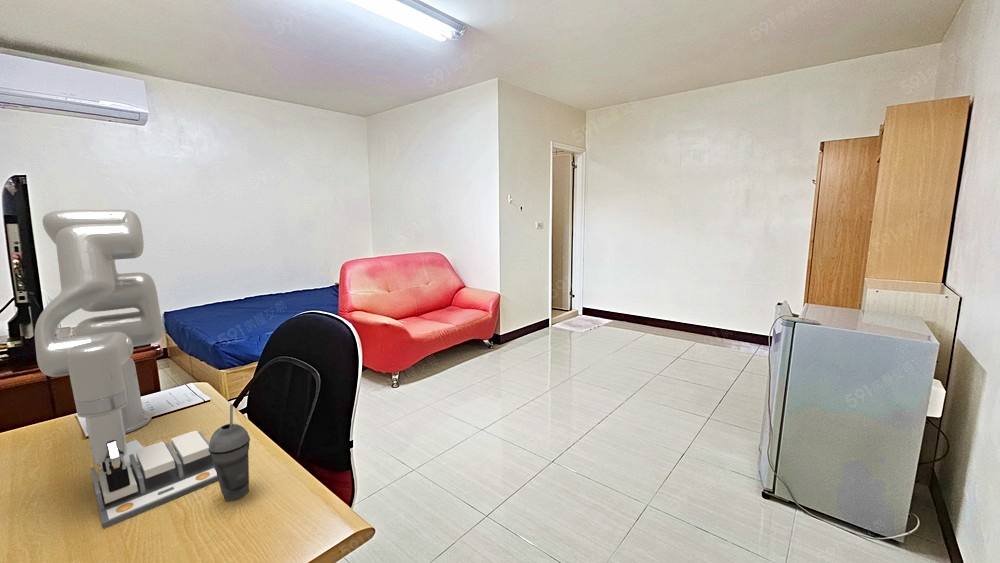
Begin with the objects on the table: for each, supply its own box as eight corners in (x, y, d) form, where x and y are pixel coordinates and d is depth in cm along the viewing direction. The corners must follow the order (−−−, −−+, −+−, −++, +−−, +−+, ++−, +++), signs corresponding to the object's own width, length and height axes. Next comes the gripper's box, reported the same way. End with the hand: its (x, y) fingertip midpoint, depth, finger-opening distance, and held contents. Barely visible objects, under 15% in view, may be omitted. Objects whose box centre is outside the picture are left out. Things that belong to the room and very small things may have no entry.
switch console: (93, 487, 91) (89, 467, 90) (202, 448, 105) (200, 430, 105) (103, 528, 79) (98, 506, 78) (224, 477, 93) (222, 458, 93)
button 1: (99, 483, 90) (97, 472, 90) (130, 472, 94) (128, 461, 94) (105, 507, 83) (103, 495, 82) (138, 494, 87) (136, 483, 86)
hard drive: (93, 454, 101) (107, 472, 94) (137, 439, 108) (152, 455, 101) (95, 460, 102) (108, 479, 94) (138, 444, 108) (153, 461, 101)
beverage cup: (219, 488, 90) (207, 401, 87) (258, 479, 93) (248, 395, 89) (212, 510, 83) (198, 417, 80) (253, 499, 86) (242, 409, 83)
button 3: (172, 448, 100) (171, 438, 99) (197, 439, 103) (196, 430, 103) (184, 467, 92) (182, 457, 92) (210, 457, 96) (209, 447, 95)
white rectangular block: (137, 460, 95) (135, 450, 94) (164, 451, 98) (163, 441, 98) (146, 482, 87) (144, 470, 87) (175, 471, 91) (174, 460, 90)
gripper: (73, 396, 88) (88, 470, 91) (79, 423, 77) (96, 506, 79) (120, 385, 93) (133, 454, 96) (133, 408, 82) (147, 487, 85)
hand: (116, 478), depth 88 cm, fingers open, 9 cm apart
